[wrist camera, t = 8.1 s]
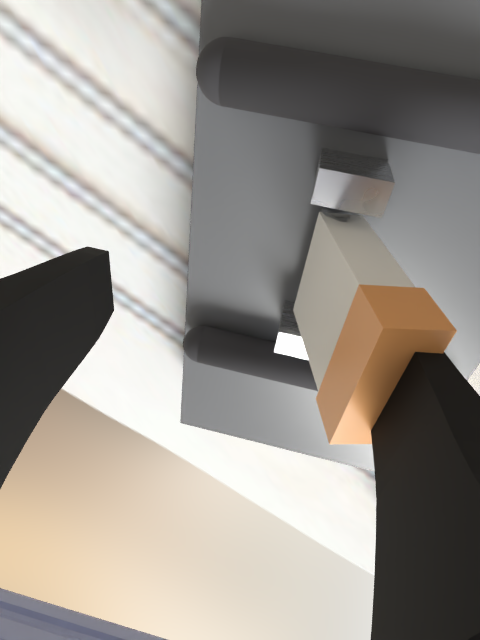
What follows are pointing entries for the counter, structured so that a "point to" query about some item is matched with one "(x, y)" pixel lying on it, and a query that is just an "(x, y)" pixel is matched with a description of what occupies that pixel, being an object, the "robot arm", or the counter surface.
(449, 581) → the robot arm
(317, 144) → the box
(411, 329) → the lever
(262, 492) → the counter surface
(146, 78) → the counter surface
